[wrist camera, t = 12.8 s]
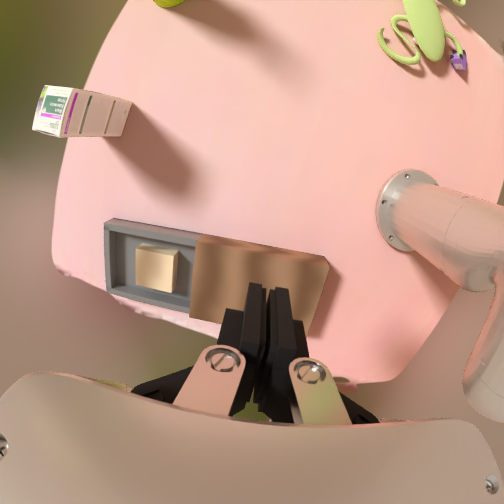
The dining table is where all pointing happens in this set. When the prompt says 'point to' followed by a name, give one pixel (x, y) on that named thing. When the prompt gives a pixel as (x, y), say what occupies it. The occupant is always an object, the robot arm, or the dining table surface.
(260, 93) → the dining table surface
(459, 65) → the figurine
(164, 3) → the soap dispenser
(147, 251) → the tile
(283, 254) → the board
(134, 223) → the box
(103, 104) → the syrup box
